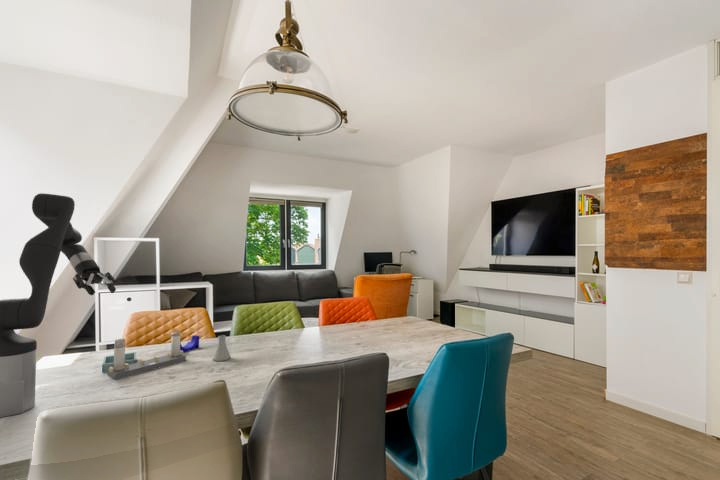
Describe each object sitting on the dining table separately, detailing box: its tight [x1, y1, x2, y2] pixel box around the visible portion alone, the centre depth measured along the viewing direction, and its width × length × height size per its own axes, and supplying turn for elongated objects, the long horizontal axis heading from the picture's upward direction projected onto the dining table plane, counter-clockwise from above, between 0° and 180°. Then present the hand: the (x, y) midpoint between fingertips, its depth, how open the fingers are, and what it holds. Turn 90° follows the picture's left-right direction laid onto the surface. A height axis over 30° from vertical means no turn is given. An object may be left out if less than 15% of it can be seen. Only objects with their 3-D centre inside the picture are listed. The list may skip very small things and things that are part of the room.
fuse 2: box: [170, 331, 181, 357], centre depth 145 cm, size 4×4×10 cm
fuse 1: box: [113, 341, 126, 371], centre depth 128 cm, size 4×4×10 cm
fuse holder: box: [106, 350, 187, 380], centre depth 136 cm, size 27×8×4 cm, turn 144°
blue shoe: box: [180, 334, 200, 353], centre depth 160 cm, size 12×4×6 cm, turn 158°
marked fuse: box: [114, 338, 126, 344], centre depth 139 cm, size 4×4×10 cm
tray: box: [101, 351, 137, 373], centre depth 139 cm, size 12×11×3 cm
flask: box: [212, 334, 232, 362], centre depth 147 cm, size 7×7×10 cm
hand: (103, 292), depth 140 cm, fingers open, 8 cm apart
